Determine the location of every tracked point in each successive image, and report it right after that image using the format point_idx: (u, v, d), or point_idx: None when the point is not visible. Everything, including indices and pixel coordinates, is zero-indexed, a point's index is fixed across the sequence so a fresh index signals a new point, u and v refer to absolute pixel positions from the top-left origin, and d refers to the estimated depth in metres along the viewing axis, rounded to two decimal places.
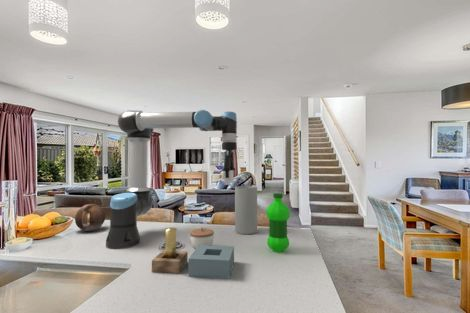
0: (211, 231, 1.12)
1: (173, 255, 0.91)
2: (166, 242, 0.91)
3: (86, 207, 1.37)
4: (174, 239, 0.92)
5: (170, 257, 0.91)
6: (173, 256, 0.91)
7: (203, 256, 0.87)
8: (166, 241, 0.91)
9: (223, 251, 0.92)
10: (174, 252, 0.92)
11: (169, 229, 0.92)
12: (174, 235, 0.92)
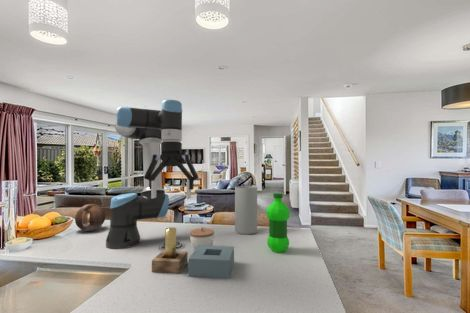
0: (211, 231, 1.12)
1: (173, 255, 0.91)
2: (166, 242, 0.91)
3: (86, 207, 1.37)
4: (174, 239, 0.92)
5: (170, 257, 0.91)
6: (173, 256, 0.91)
7: (203, 256, 0.87)
8: (166, 241, 0.91)
9: (223, 251, 0.92)
10: (174, 252, 0.92)
11: (169, 229, 0.92)
12: (174, 235, 0.92)
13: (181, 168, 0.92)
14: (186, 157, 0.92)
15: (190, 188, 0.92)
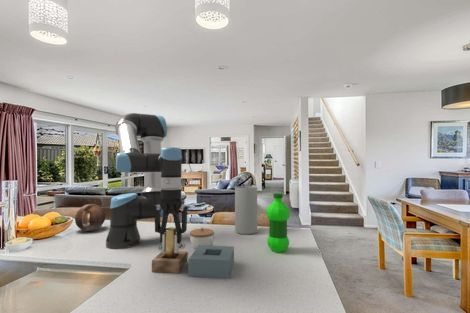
0: (211, 231, 1.12)
1: (173, 255, 0.91)
2: (166, 242, 0.91)
3: (86, 207, 1.37)
4: (174, 239, 0.92)
5: (170, 257, 0.91)
6: (173, 256, 0.91)
7: (203, 256, 0.87)
8: (166, 241, 0.91)
9: (223, 251, 0.92)
10: None
11: (169, 229, 0.92)
12: (174, 235, 0.92)
13: (175, 219, 0.92)
14: (184, 209, 0.91)
15: (178, 242, 0.92)
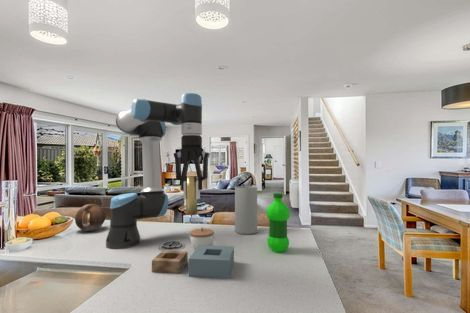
0: (211, 231, 1.12)
1: (194, 202, 0.90)
2: (187, 188, 0.90)
3: (86, 207, 1.37)
4: (195, 186, 0.91)
5: (191, 203, 0.90)
6: (194, 203, 0.90)
7: (203, 256, 0.87)
8: (187, 187, 0.90)
9: (223, 251, 0.92)
10: (195, 199, 0.91)
11: (190, 176, 0.91)
12: (195, 182, 0.91)
13: (196, 165, 0.91)
14: (205, 155, 0.90)
15: (199, 188, 0.91)
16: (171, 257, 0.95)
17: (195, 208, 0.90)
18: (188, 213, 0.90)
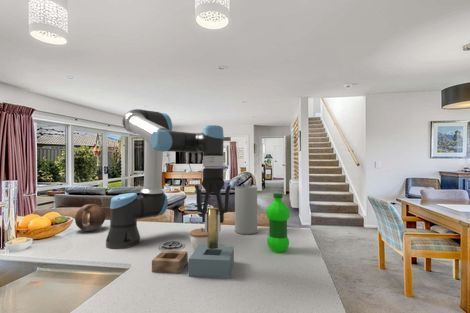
0: None
1: (216, 235, 0.90)
2: (209, 222, 0.90)
3: (86, 207, 1.37)
4: (217, 219, 0.90)
5: (213, 237, 0.89)
6: (216, 236, 0.90)
7: (203, 256, 0.87)
8: (209, 221, 0.90)
9: (223, 251, 0.92)
10: (217, 232, 0.90)
11: (212, 209, 0.90)
12: (217, 215, 0.90)
13: (218, 198, 0.90)
14: (227, 188, 0.90)
15: (221, 221, 0.90)
16: (171, 257, 0.95)
17: (217, 241, 0.90)
18: (210, 247, 0.89)
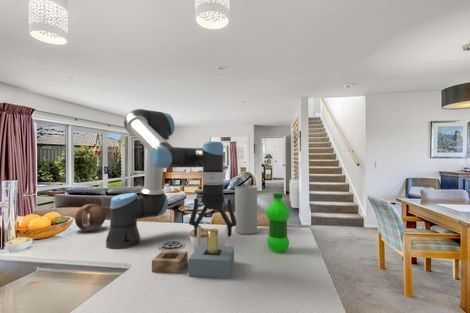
0: None
1: None
2: (209, 244, 0.89)
3: (86, 207, 1.37)
4: (217, 241, 0.90)
5: None
6: None
7: (203, 256, 0.87)
8: (209, 243, 0.90)
9: (223, 251, 0.92)
10: (217, 254, 0.90)
11: (211, 230, 0.90)
12: (217, 237, 0.90)
13: (222, 213, 0.90)
14: (229, 202, 0.90)
15: (229, 235, 0.90)
16: (171, 257, 0.95)
17: None
18: None
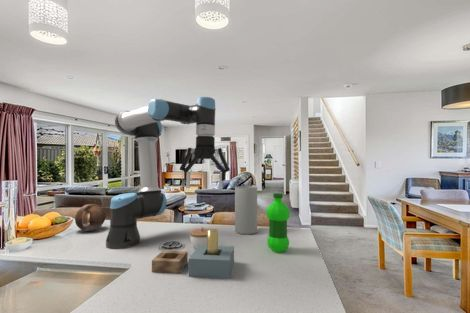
0: None
1: None
2: (209, 244, 0.89)
3: (86, 207, 1.37)
4: (217, 241, 0.90)
5: None
6: None
7: (203, 256, 0.87)
8: (209, 243, 0.90)
9: (223, 251, 0.92)
10: (217, 254, 0.90)
11: (211, 230, 0.90)
12: (217, 237, 0.90)
13: (214, 161, 0.99)
14: (219, 151, 0.99)
15: (222, 179, 0.99)
16: (171, 257, 0.95)
17: None
18: None
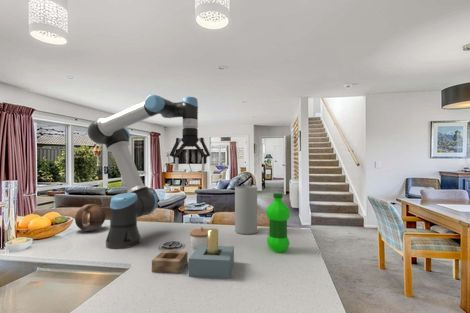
0: None
1: None
2: (209, 244, 0.89)
3: (86, 207, 1.37)
4: (217, 241, 0.90)
5: None
6: None
7: (203, 256, 0.87)
8: (209, 243, 0.90)
9: (223, 251, 0.92)
10: (217, 254, 0.90)
11: (211, 230, 0.90)
12: (217, 237, 0.90)
13: (197, 148, 1.23)
14: (201, 139, 1.23)
15: (204, 163, 1.23)
16: (171, 257, 0.95)
17: None
18: None
